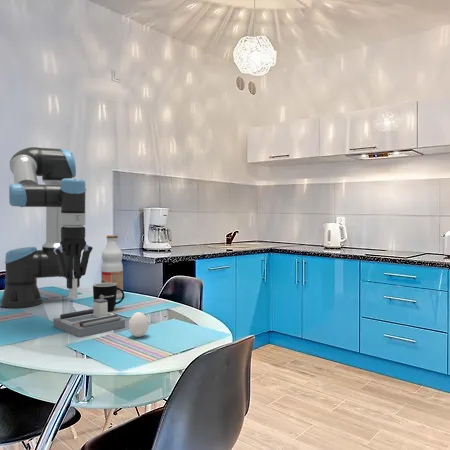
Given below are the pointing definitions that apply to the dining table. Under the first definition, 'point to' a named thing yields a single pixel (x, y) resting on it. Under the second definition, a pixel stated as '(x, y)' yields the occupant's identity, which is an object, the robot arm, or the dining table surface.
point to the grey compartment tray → (74, 328)
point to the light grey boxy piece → (100, 307)
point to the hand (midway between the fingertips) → (73, 297)
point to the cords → (92, 321)
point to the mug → (107, 293)
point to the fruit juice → (112, 264)
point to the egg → (138, 324)
